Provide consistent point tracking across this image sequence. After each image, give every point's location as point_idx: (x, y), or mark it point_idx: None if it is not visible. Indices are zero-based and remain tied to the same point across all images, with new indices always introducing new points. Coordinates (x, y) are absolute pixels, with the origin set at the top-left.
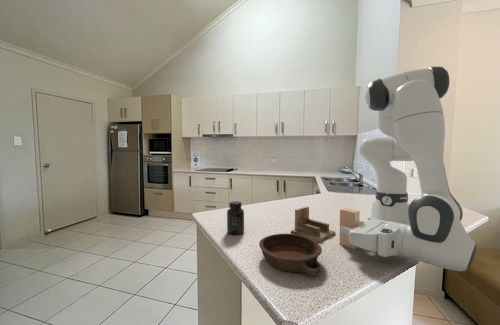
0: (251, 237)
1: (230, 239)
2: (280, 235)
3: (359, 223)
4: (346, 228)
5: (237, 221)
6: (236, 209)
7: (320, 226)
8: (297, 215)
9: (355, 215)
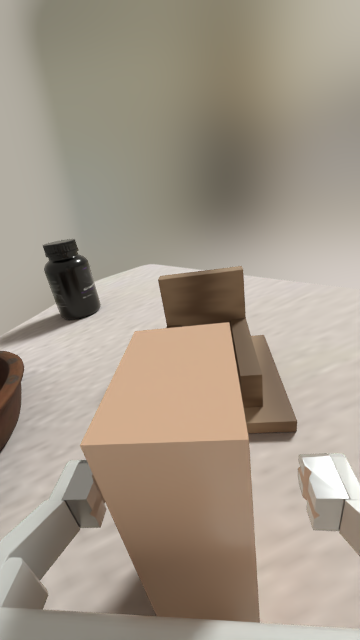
0: (67, 334)
1: (38, 327)
2: (3, 361)
3: (356, 525)
4: (27, 516)
5: (55, 289)
6: (51, 260)
7: (237, 367)
8: (162, 300)
9: (104, 474)
